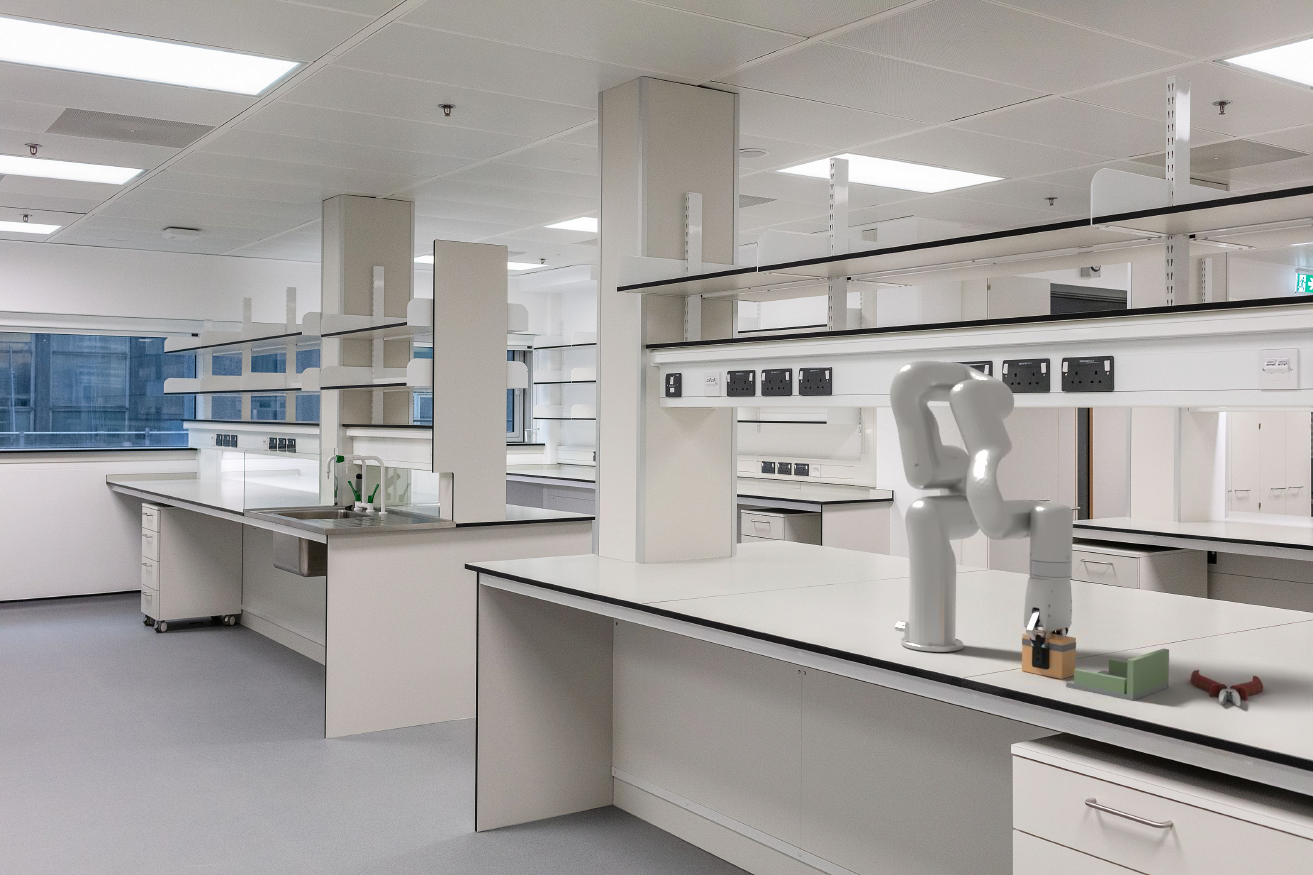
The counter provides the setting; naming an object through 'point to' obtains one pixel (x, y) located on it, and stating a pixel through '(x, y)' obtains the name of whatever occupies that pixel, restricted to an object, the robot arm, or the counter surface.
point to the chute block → (1052, 656)
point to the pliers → (1225, 694)
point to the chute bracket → (1127, 676)
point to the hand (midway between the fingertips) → (1048, 664)
